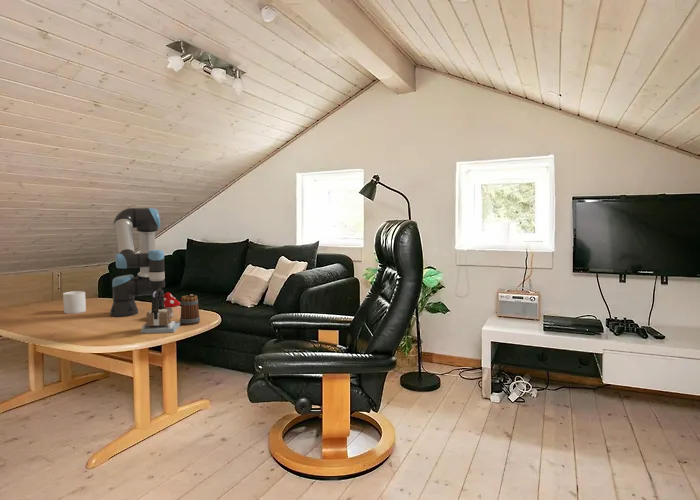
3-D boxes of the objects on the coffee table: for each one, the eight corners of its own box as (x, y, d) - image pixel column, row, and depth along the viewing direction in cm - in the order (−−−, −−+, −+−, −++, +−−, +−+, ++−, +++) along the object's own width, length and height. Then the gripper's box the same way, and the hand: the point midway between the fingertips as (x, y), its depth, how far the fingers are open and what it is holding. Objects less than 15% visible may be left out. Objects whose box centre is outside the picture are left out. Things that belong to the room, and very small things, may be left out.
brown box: (149, 322, 242) (149, 309, 241) (169, 322, 244) (169, 309, 243) (146, 326, 235) (146, 312, 234) (167, 325, 237) (166, 311, 236)
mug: (198, 324, 250) (197, 297, 249) (178, 325, 249) (177, 298, 248) (202, 318, 266) (202, 292, 265) (183, 319, 264) (183, 293, 263)
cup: (83, 308, 293) (82, 290, 292) (88, 311, 284) (87, 292, 283) (62, 311, 285) (61, 292, 284) (66, 314, 276) (65, 295, 275)
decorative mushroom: (178, 313, 278) (177, 289, 276) (184, 318, 266) (183, 292, 265) (153, 316, 270) (152, 291, 269) (158, 321, 258) (157, 295, 257)
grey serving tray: (149, 326, 247) (149, 320, 247) (180, 325, 249) (180, 319, 249) (140, 333, 232) (140, 326, 232) (173, 332, 235) (173, 325, 234)
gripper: (155, 277, 247) (156, 319, 249) (143, 282, 227) (145, 328, 229) (169, 277, 248) (170, 318, 250) (159, 282, 228) (160, 327, 230)
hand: (158, 323), depth 239 cm, fingers closed on brown box, 7 cm apart
